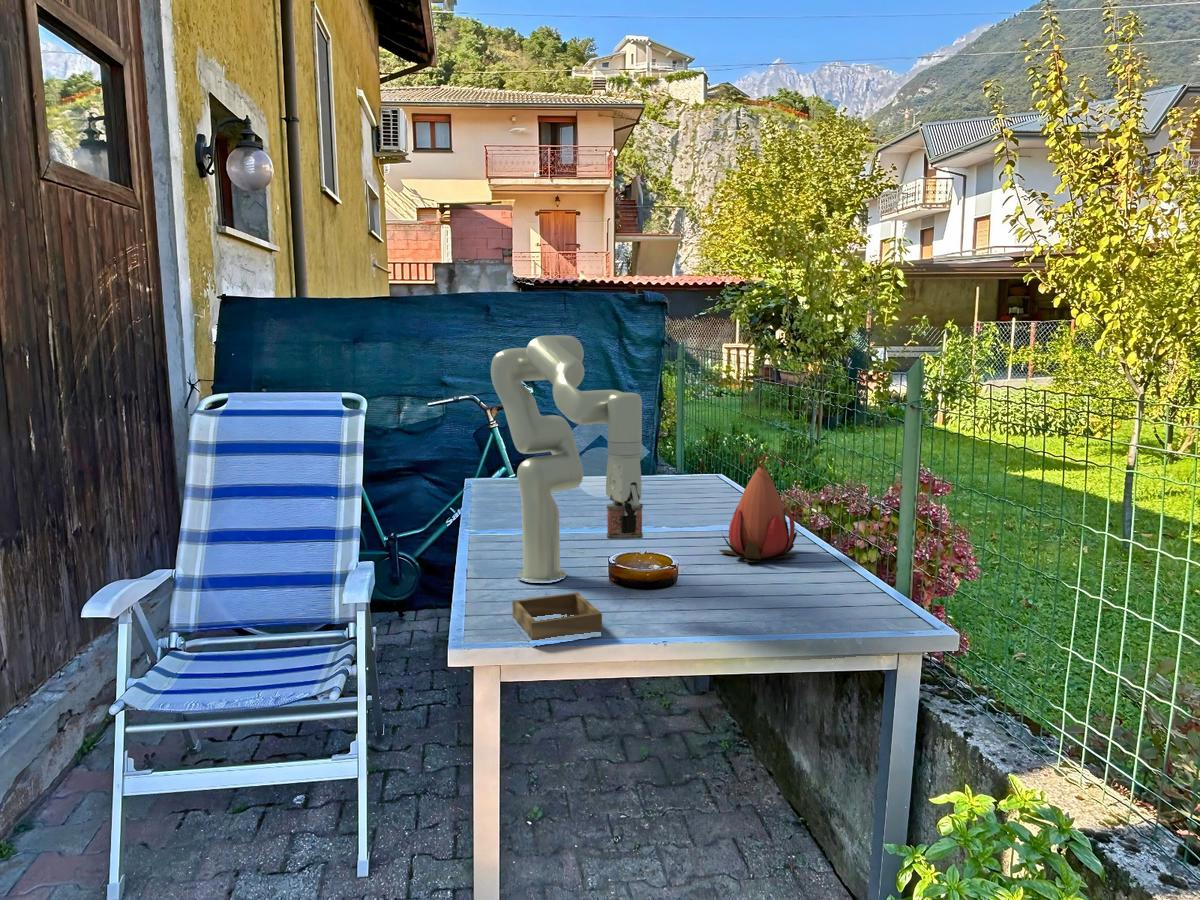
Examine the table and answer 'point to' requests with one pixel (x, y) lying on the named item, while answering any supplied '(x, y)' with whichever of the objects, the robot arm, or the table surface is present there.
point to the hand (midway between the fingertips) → (624, 529)
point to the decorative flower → (761, 521)
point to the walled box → (569, 604)
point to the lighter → (616, 521)
